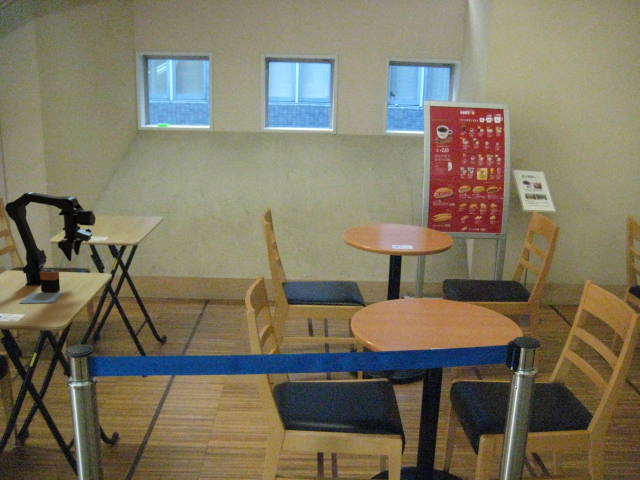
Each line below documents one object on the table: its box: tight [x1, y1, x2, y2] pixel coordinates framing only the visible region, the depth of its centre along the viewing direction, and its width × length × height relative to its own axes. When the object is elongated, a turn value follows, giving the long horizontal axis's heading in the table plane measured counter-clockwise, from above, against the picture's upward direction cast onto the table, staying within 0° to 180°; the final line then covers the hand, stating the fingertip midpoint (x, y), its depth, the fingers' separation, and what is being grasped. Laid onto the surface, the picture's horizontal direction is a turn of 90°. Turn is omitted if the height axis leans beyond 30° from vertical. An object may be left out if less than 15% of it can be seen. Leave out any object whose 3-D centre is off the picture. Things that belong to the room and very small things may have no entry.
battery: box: [40, 268, 61, 293], centre depth 258 cm, size 4×7×10 cm, turn 76°
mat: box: [19, 292, 65, 305], centre depth 250 cm, size 14×12×1 cm
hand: (73, 257), depth 266 cm, fingers open, 9 cm apart
